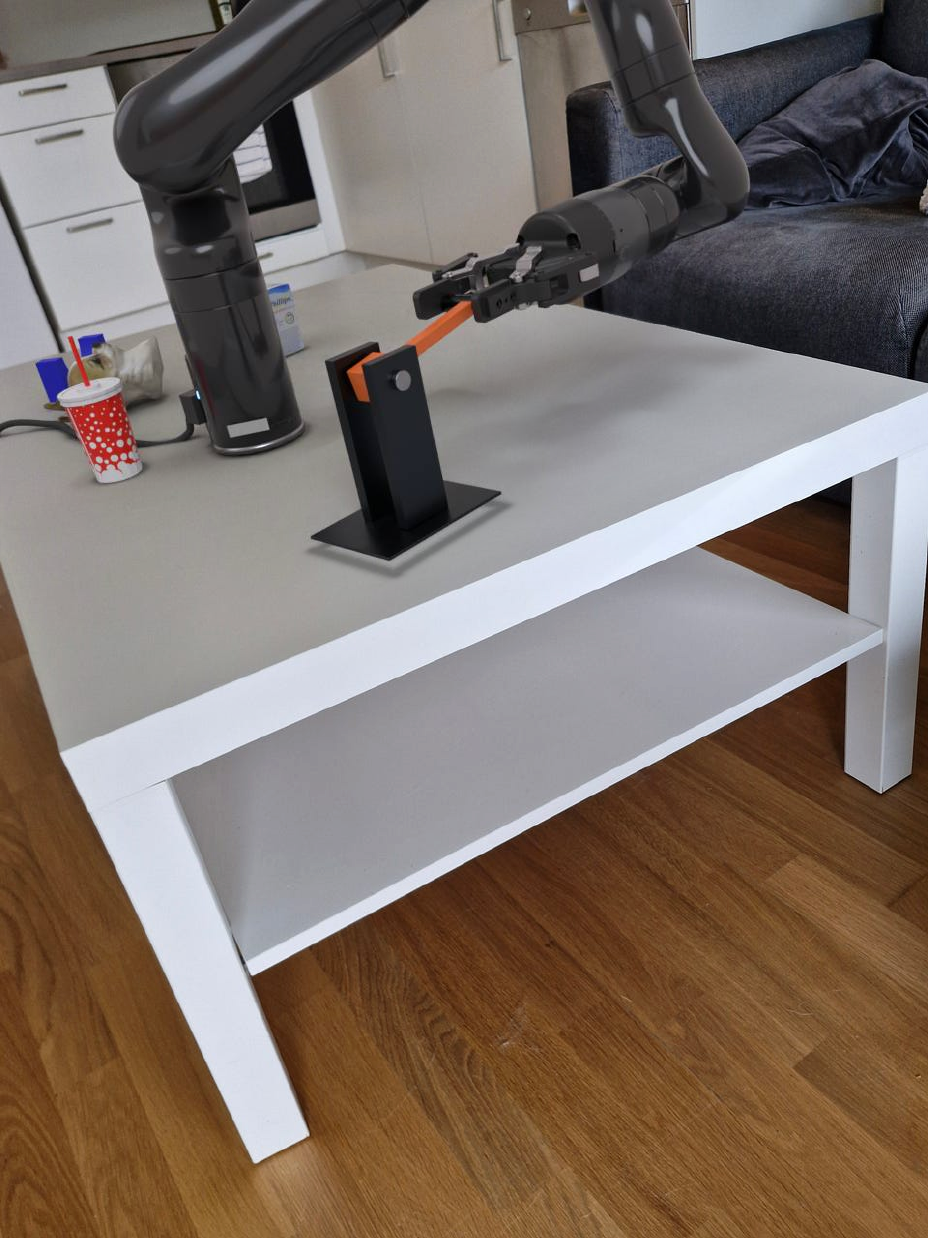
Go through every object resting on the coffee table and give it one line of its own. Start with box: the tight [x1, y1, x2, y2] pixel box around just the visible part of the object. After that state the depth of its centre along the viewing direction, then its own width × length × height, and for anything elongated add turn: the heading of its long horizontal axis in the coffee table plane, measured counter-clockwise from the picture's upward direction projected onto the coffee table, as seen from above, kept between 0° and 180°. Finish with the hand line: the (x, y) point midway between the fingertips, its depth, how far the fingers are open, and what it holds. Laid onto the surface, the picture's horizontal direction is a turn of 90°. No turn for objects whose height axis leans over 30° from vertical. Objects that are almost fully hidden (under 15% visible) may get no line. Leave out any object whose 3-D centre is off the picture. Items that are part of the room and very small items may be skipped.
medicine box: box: [265, 283, 306, 358], centre depth 136 cm, size 8×4×9 cm, turn 49°
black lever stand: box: [310, 341, 502, 562], centre depth 76 cm, size 12×9×14 cm
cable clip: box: [34, 333, 107, 403], centre depth 136 cm, size 12×4×6 cm, turn 169°
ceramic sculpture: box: [42, 334, 165, 424], centre depth 124 cm, size 11×9×15 cm
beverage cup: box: [57, 335, 144, 484], centre depth 101 cm, size 6×6×14 cm
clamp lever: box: [347, 293, 474, 402], centre depth 76 cm, size 13×6×2 cm, turn 136°
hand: (446, 308), depth 77 cm, fingers closed on clamp lever, 5 cm apart
